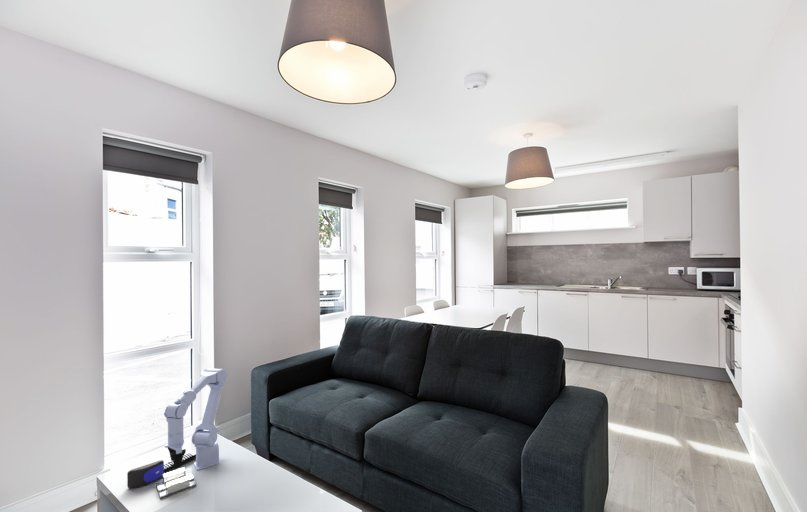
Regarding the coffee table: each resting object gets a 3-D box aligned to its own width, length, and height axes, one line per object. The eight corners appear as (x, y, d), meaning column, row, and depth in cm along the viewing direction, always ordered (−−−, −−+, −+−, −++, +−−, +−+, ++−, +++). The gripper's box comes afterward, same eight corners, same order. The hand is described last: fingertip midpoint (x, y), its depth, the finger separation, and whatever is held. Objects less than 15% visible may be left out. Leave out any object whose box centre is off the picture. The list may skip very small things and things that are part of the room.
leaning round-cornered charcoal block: (128, 492, 156) (128, 474, 156) (127, 488, 159) (127, 470, 159) (165, 479, 165) (165, 461, 165) (163, 475, 168) (163, 458, 168)
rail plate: (190, 475, 168) (190, 464, 168) (196, 487, 159) (196, 476, 159) (156, 486, 159) (156, 475, 159) (160, 500, 150) (160, 488, 150)
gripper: (162, 429, 162) (162, 460, 162) (167, 441, 151) (167, 474, 151) (180, 424, 167) (180, 454, 167) (187, 435, 156) (187, 468, 156)
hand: (175, 463), depth 159 cm, fingers open, 7 cm apart
